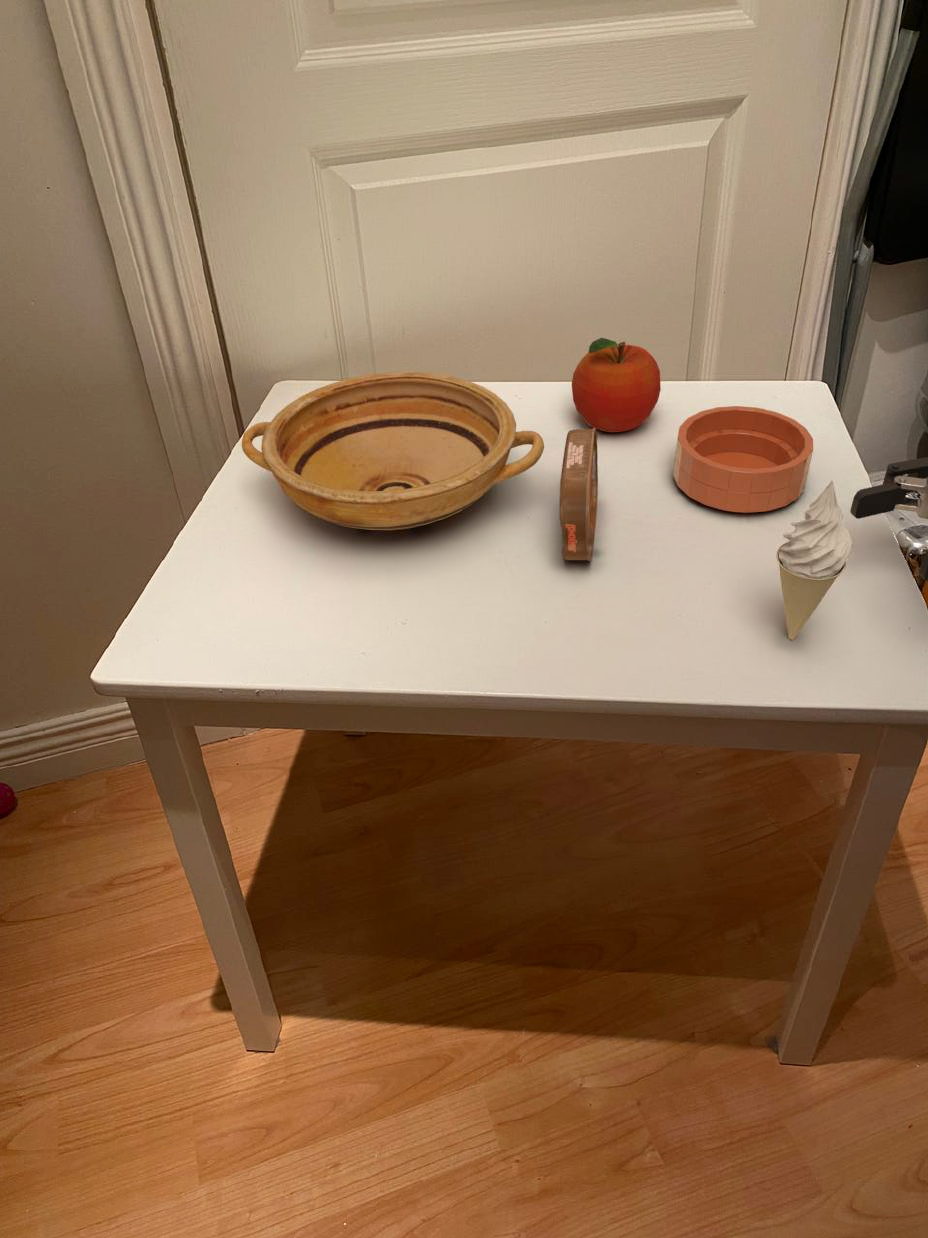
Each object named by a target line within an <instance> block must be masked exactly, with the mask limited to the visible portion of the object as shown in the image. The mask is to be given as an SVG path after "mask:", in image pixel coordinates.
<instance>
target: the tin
mask: <svg viewBox="0 0 928 1238" xmlns="http://www.w3.org/2000/svg"><path fill="white" fill-rule="evenodd" d="M563 451H564V452H563V457H562V466H561V473H560V483H559V498H558V499H559V503H558V505H559V508H558V509H559V510H558V511H559V512H558V513H559V523H560V528H561V539H562V549H561V556H562V558H563V559H564V560H567V561H588V562H592V561H593V554H594V546H595V545H594V544H595V537H596V536H595V533H596V523H597V515H598V514H597V513H598V495H599V476H598V475H599V470H598V469H599V468H598V467H599V465H598V459H599V457H598V434H597V429H596V428H594V427H592V428H577V429H571V430H570V429H569V431H568V432H567V435H566V439H565V444H564V450H563Z"/></svg>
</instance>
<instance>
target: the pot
mask: <svg viewBox="0 0 928 1238" xmlns="http://www.w3.org/2000/svg"><path fill="white" fill-rule="evenodd" d="M813 453H814V438H813V436H812V435H811V433H810V432H809V430H808V429H807V428H806V427H805V426H804V425H802V424H801V423H800V422H798V421H797V420H795V419H794V418H792V417H790V416H788V415H787V416H786V415H785V414H782V413H780V412H777V411H773V410H769V409H765V408H760V407H755V406H754V407H753V406H741V405H740V406H739V405H732V406H718V407H714V408H713V407H712V408H709V409H705V410H701V411H699V412H697V413H694V414H693V415H691V416H689V417H687V418H686V419H685V420H684V421H683V422H682V424H681V425H680V426H679V428H678V433H677V439H676V447H675V458H674V465H673V473H672V474H673V475H672V476H673V478H674V480H675V483H676V485H677V487H678V488H679V489H680V490H681V491H682V492H683V493H684V494H685V495H687V496H688V497H689V498H691V499H693V500H695V501H697V502H699V503H700V504H702V505H705V506H707V507H711V508H713V509H716V510H717V509H718V510H722V511H725V512H730V513H743V514H747V513H759V512H760V513H762V512H769V511H770V512H771V511H773V510H778V509H780V508H784V507H786V506H788V505H790V504H792V503H793V502H794V501H796V500H798V499H799V498H800V496H801V495H802V493H803V492H804V491H805V488H806V483H807V480H808V475H809V471H810V465H811V462H812V458H813Z"/></svg>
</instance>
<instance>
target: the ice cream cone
mask: <svg viewBox="0 0 928 1238" xmlns="http://www.w3.org/2000/svg"><path fill="white" fill-rule="evenodd" d="M808 507H809V508H807V510H805V511H804V520H800V521H792V522H790V526H792V527H794V528H795V529H794V530H793V531H792V532H784V533H783V534H782V536H783V538H784V539H786V540H788V541H786V542H784V543H783V544H781V545H780V546H779V548H778V549H777V550H776V555H775V556H776V561H777V563H778V567H779V576H780V585H781V593H782V599H783V600H782V601H783V607H784V615H785V623H786V631H787V637H788V640H792V641H794V640H795V639H796V638H797V636H798V635H799V633H800V632H801V631H802V629H803V628H804V626H805V625H806V624H807V621H809V619H810V618H811V616H812V615H813V613H814V612H815V610H816V609H817V608H818V606H819V605H820V603H821V602H822V600H823V598H824V597H825V595H826V594H827V592H829V590H830V588H831V587H832V586H833V584H834V583H835V581H836V580H837V578H838V577H839V576H840V575H841V574H842V573H844V571H845V570H846V567H847V560H848V559H849V558H850V556H851V552H852V549H853V545H854V544H853V541H852V538H851V533H850V532H849V529H848V527H847V526H845V525H844V524H843V523H842V521H843V518H844V513H843V511H842V509H841V507H840V505H839V503H838V498H837V495H836V490H835V485H834V480H830V482H829V484H828V485H827V486H826V487H825V489H824V490H823V491H822V492H821V493H820V494H819V496H817V498H816V499H815V500H814V501H813V502H811V503H810V504H809V505H808Z"/></svg>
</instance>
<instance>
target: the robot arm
mask: <svg viewBox="0 0 928 1238" xmlns="http://www.w3.org/2000/svg"><path fill="white" fill-rule="evenodd" d="M915 492H921V496H920V497H919V498H911V497H907V494H909V493H915ZM895 510H900V511H907V512H913V513H916V514H917V516H918V517H919V518H920V519H925V520H928V456H926V457H925V456H924V457H920V458H914V459H908V460H904V461H900V462H899V461H898V462H893V463H889V464H888V465H887V466H886V471H885V474H884V478H883V481H882V484H879V485H873V486H869V487H866V488H861V489H859V490H857V491H856V493H855V495H854V496H853V499H852V503H851V505H850V511H849V513H850V514H851V516H853V517H854V518H855V519H857V520H859V519H860V520H861V519H864V518H868V517H872V516H877V515H881V514H885V513H889V512H894V511H895ZM917 574H918V576H920V577H921V578H922V579H923V580H924V581H926V582H928V552H927V553H926V554H925V555H924V556H923V557H922V561H921V563H920V566H919V568H918V573H917Z"/></svg>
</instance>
